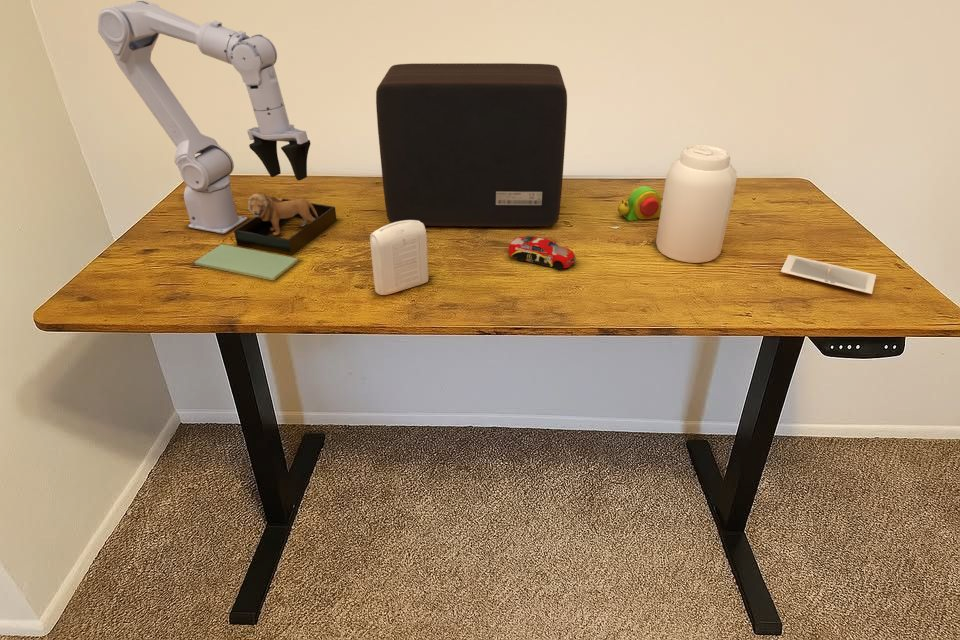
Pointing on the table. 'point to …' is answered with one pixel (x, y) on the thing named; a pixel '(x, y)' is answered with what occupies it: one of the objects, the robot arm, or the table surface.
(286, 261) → the sage mat
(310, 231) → the picture frame
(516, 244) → the race car
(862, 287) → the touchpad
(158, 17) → the robot arm
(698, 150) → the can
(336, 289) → the table surface
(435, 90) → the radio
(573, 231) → the table surface
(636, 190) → the toy snail
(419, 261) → the photo printer
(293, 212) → the lion figurine
